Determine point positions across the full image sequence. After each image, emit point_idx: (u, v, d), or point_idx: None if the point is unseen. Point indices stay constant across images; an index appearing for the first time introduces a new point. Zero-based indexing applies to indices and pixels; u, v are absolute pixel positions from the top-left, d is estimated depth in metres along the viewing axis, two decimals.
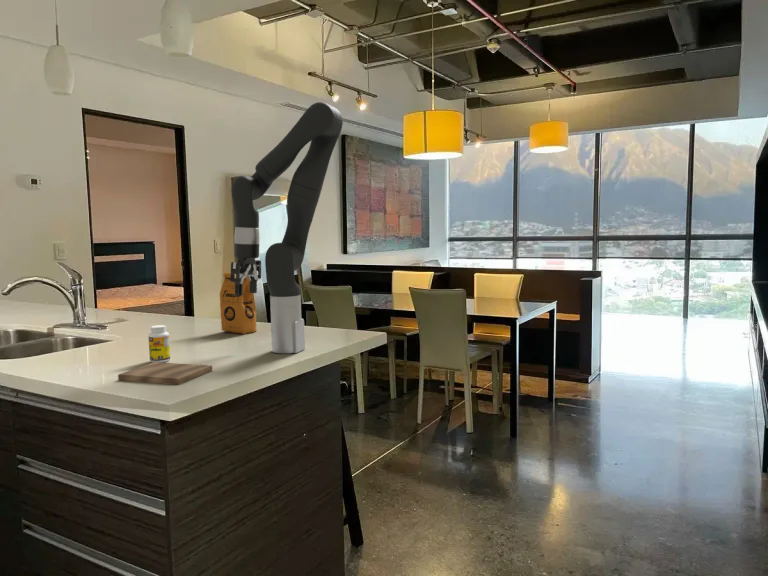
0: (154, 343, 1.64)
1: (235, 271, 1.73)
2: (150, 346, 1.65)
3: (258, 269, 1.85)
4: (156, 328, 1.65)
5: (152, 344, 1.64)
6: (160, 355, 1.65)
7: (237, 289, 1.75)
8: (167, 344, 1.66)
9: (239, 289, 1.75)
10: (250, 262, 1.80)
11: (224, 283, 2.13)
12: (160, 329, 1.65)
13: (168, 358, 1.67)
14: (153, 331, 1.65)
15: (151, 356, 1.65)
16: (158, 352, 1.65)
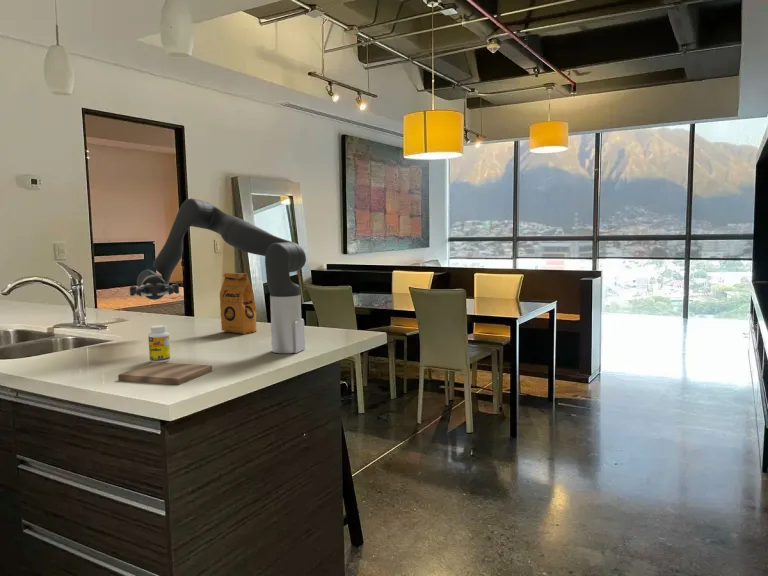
0: (154, 343, 1.64)
1: None
2: (150, 346, 1.65)
3: (174, 285, 1.85)
4: (156, 328, 1.65)
5: (152, 344, 1.64)
6: (160, 355, 1.65)
7: (136, 291, 1.76)
8: (167, 344, 1.66)
9: (137, 289, 1.76)
10: (155, 285, 1.85)
11: (224, 283, 2.13)
12: (160, 329, 1.65)
13: (168, 358, 1.67)
14: (153, 331, 1.65)
15: (151, 356, 1.65)
16: (158, 352, 1.65)
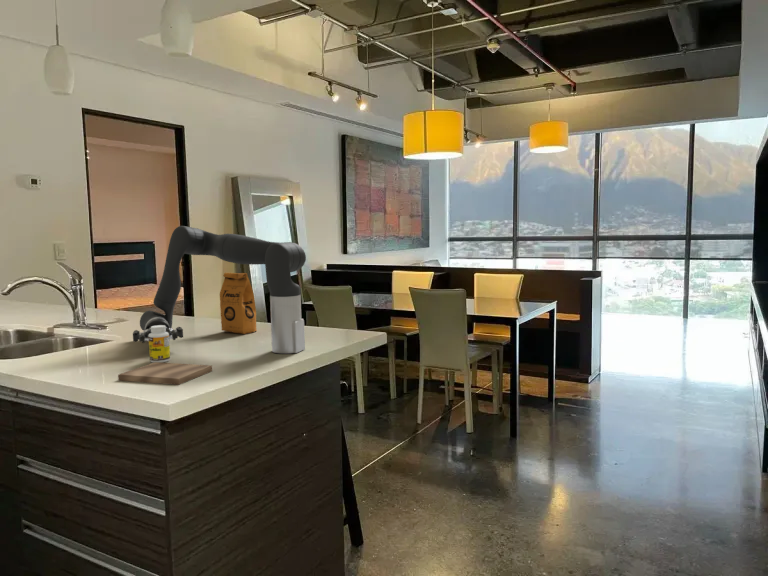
0: (154, 343, 1.64)
1: None
2: (150, 346, 1.65)
3: (177, 329, 1.81)
4: (156, 328, 1.65)
5: (152, 344, 1.64)
6: (160, 355, 1.65)
7: (139, 337, 1.72)
8: (167, 344, 1.66)
9: (140, 336, 1.72)
10: None
11: (224, 283, 2.13)
12: (160, 329, 1.65)
13: (168, 358, 1.67)
14: (153, 331, 1.65)
15: (151, 356, 1.65)
16: (158, 352, 1.65)
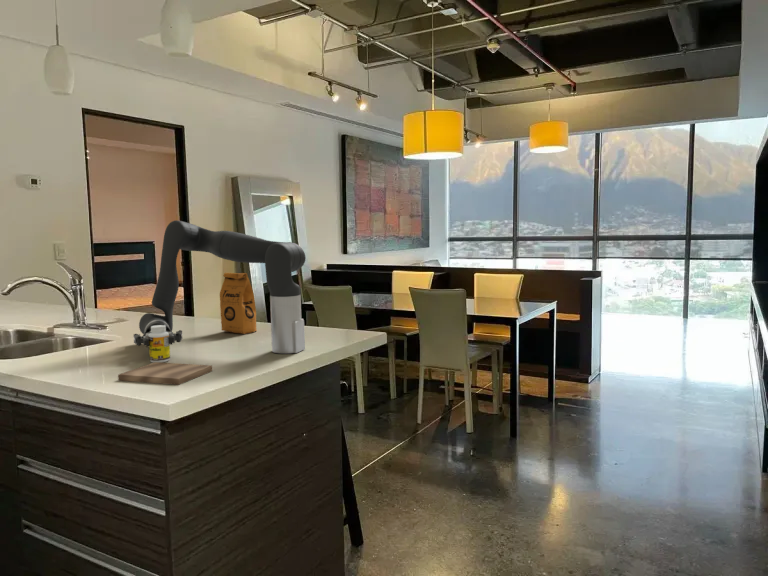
0: (154, 343, 1.64)
1: (135, 338, 1.69)
2: (150, 346, 1.65)
3: (177, 333, 1.73)
4: (156, 328, 1.65)
5: (152, 344, 1.64)
6: (160, 354, 1.65)
7: (143, 341, 1.65)
8: (167, 344, 1.66)
9: (144, 339, 1.65)
10: None
11: (224, 283, 2.13)
12: (160, 329, 1.65)
13: (168, 358, 1.67)
14: (153, 331, 1.65)
15: (151, 356, 1.65)
16: (158, 351, 1.65)
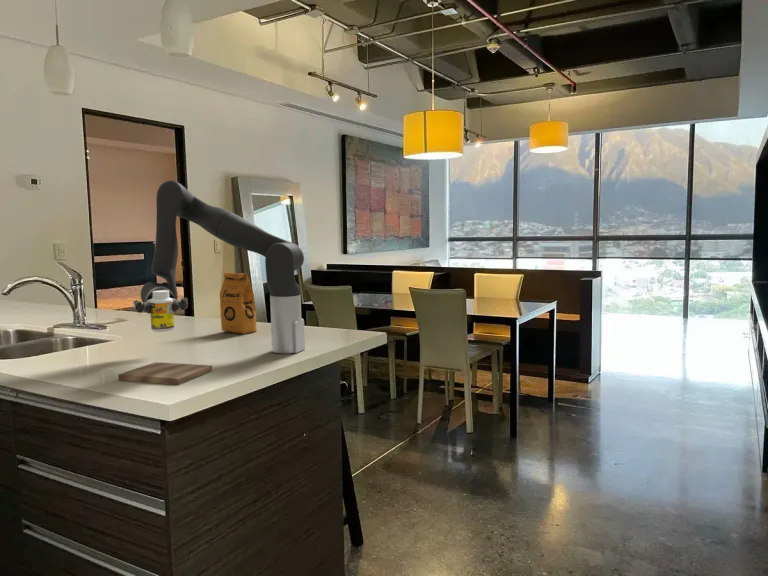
0: (156, 310, 1.47)
1: (135, 304, 1.52)
2: (152, 313, 1.48)
3: (181, 300, 1.56)
4: (159, 293, 1.47)
5: (153, 311, 1.47)
6: (163, 322, 1.48)
7: None
8: (171, 311, 1.49)
9: (145, 305, 1.48)
10: None
11: (224, 283, 2.13)
12: (163, 294, 1.48)
13: (172, 327, 1.50)
14: (155, 296, 1.48)
15: (153, 324, 1.48)
16: (161, 319, 1.47)
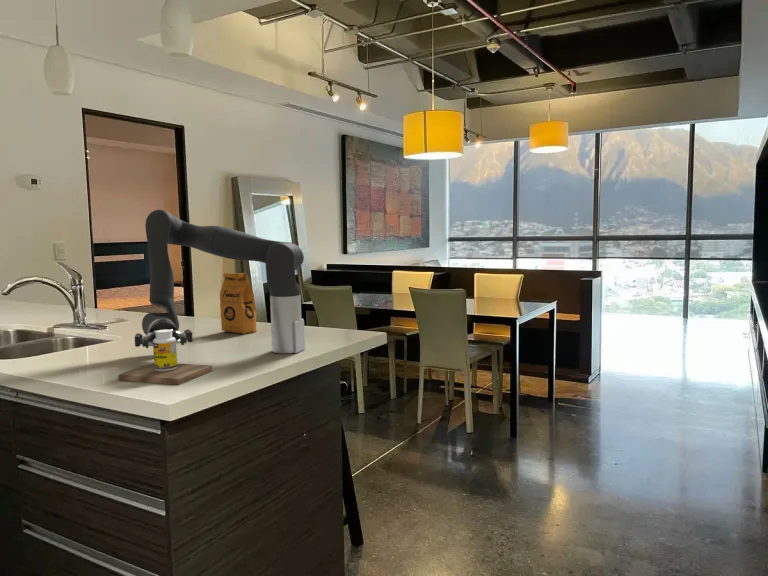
0: (159, 350, 1.47)
1: None
2: (155, 353, 1.48)
3: (186, 332, 1.57)
4: (162, 333, 1.47)
5: (157, 351, 1.47)
6: (166, 362, 1.48)
7: None
8: (174, 350, 1.49)
9: (143, 340, 1.48)
10: None
11: (224, 283, 2.13)
12: (166, 334, 1.48)
13: (175, 366, 1.50)
14: (158, 336, 1.48)
15: (156, 364, 1.48)
16: (164, 359, 1.47)
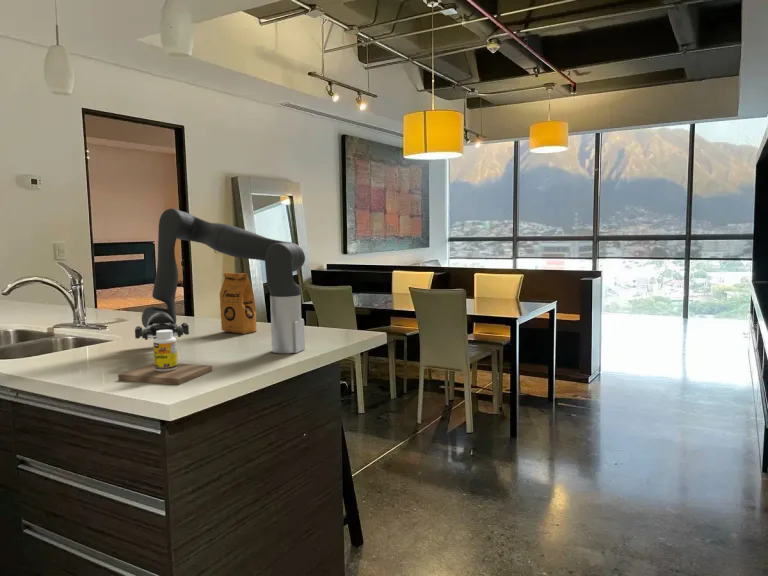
0: (159, 350, 1.47)
1: None
2: (155, 353, 1.48)
3: (183, 325, 1.69)
4: (162, 333, 1.47)
5: (157, 351, 1.47)
6: (166, 362, 1.48)
7: None
8: (174, 351, 1.49)
9: (143, 332, 1.59)
10: (163, 325, 1.69)
11: (224, 283, 2.13)
12: (166, 334, 1.48)
13: (175, 366, 1.50)
14: (158, 336, 1.48)
15: (156, 364, 1.48)
16: (164, 359, 1.47)
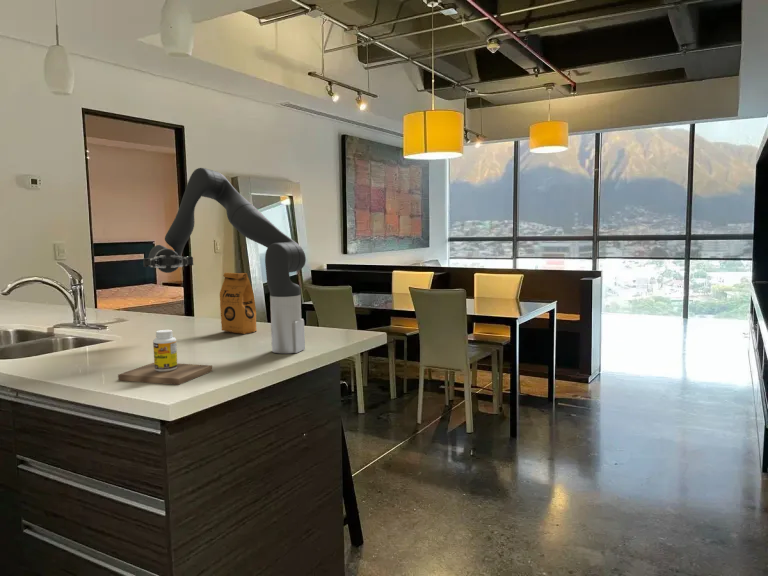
0: (159, 350, 1.47)
1: None
2: (155, 353, 1.48)
3: (187, 258, 1.81)
4: (162, 333, 1.47)
5: (157, 351, 1.47)
6: (166, 363, 1.48)
7: (150, 262, 1.72)
8: (174, 351, 1.49)
9: (151, 260, 1.72)
10: (169, 257, 1.81)
11: (224, 283, 2.13)
12: (166, 334, 1.48)
13: (175, 366, 1.50)
14: (158, 336, 1.48)
15: (156, 364, 1.48)
16: (164, 359, 1.47)
